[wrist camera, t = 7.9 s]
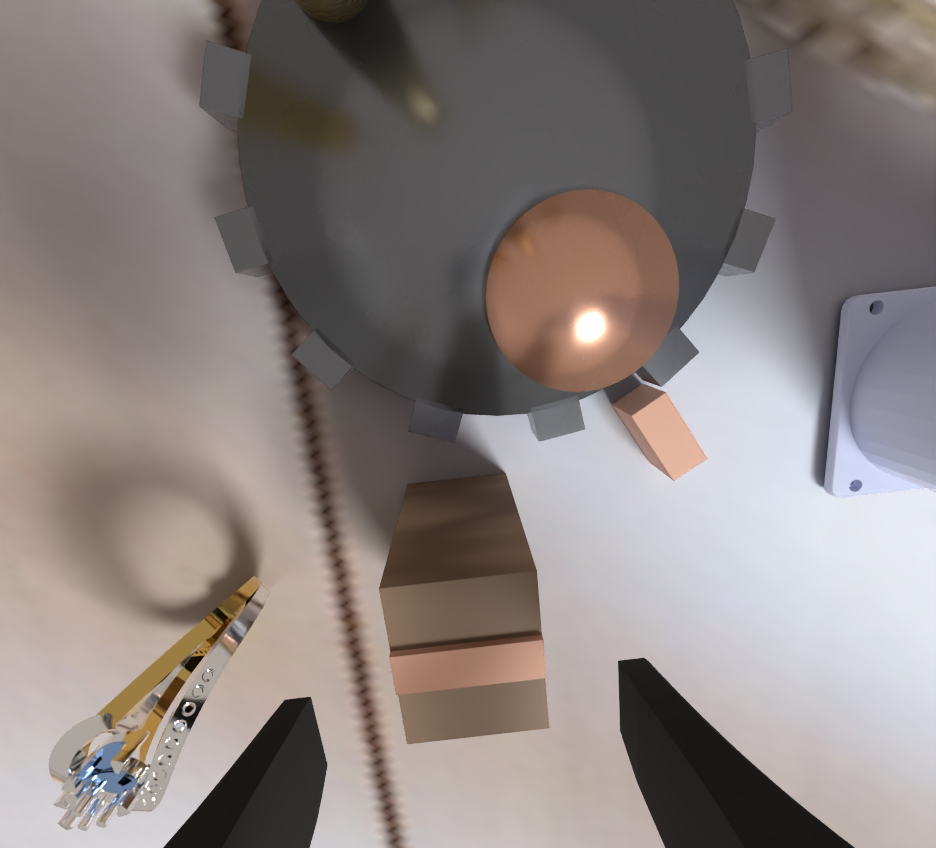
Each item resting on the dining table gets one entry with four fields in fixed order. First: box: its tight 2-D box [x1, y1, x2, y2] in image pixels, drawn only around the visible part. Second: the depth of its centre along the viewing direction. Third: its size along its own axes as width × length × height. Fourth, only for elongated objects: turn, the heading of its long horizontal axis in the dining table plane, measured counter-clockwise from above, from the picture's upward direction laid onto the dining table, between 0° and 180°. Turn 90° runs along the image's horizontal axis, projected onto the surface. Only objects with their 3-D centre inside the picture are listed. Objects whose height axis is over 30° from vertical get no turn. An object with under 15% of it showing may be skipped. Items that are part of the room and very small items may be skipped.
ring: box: [49, 576, 270, 831], centre depth 15 cm, size 7×3×8 cm, turn 134°
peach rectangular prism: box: [612, 384, 707, 481], centre depth 16 cm, size 3×1×2 cm, turn 36°
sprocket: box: [200, 0, 792, 443], centre depth 12 cm, size 17×17×5 cm
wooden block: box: [379, 473, 549, 744], centre depth 15 cm, size 4×5×7 cm
